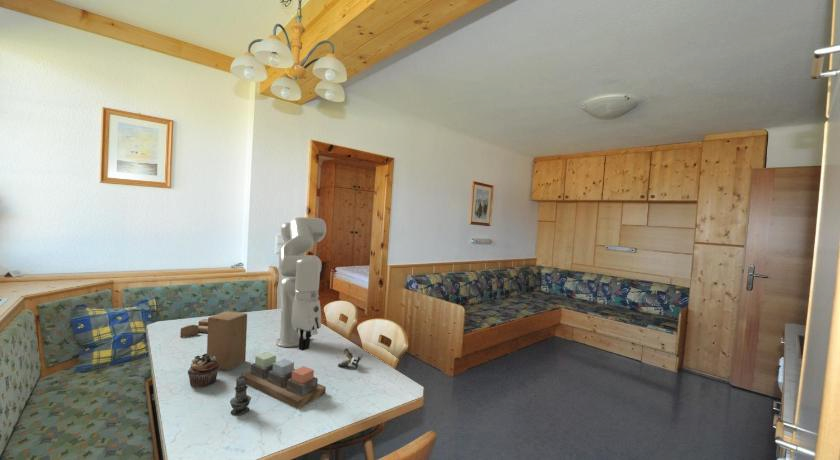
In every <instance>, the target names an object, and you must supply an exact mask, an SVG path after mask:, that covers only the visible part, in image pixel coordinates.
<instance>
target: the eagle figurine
mask: <svg viewBox="0 0 840 460" xmlns="http://www.w3.org/2000/svg"><path fill="white" fill-rule="evenodd" d="M343 352H344V354H345V356H346V358H347V360H343V361H341V362H340V363H338V364H337V366H338V367H341V366H344V367H346V366H348V365H349V364H350V365H353V366H354V367H355V368H357V369H358V365H359V363H360V361H361V360H362V358H363V356H364V354H362V355H360V356H357V359H355V357H354V355H353V353H352V352H350V351H349V348H345V349H344V351H343Z"/></svg>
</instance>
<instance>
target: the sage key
mask: <svg viewBox="0 0 840 460" xmlns="http://www.w3.org/2000/svg"><path fill="white" fill-rule="evenodd" d="M254 360H255V361H254V363H255V365H256V366H258V367H261V368H263V369H264V368H266V367H269V366H271V365H273V363H275V362H277V355H276V354H273V353H270V352H268V351H267V352H264V353H261V354H258V355H256V356H255V358H254Z"/></svg>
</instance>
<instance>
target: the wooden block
mask: <svg viewBox="0 0 840 460" xmlns="http://www.w3.org/2000/svg"><path fill="white" fill-rule="evenodd" d="M207 319H208V333H207V338H206V339H207V340H206V341H207V342H206V353H207V354H208V356H212V355H213V356H215V357H216V360H217V362H218V365H219V370H220V371H228V372H229V371H230V370H232V369H234V368H236V367H237V366H239V365H241V364H242V363H245V362H246V357H247V356H246V353H247V352H246V351H247V330H248V329H247V328H248V327H247V326H248V313H245V312H238V311H230V310H225V311H223V312H220V313H218V314H214V315H210V316H209V317H207Z"/></svg>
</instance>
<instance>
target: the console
mask: <svg viewBox="0 0 840 460" xmlns="http://www.w3.org/2000/svg"><path fill="white" fill-rule="evenodd" d="M294 370H296V369H295V368H294ZM242 374H243V373H242ZM243 375H244V376H246V377H247V383H246V385H247V386H249V387H250V388H253V389H255V390H257V391H259V392H261V393H263V394H266V395H268V396H269V397H271V398H273V399H276V400H278V401H280V402H282V403H284V404H285V405H289V406H290V407H292V408H294V409H296V410H299V409H301V408H302V407H304V406H306V405H308V404H310V403H311V402H313V401H315V400H317V399H319V398H320V397H322V396H324V395H326V390H327V387H326V386H325V385H322V384H320V383H318V381H319V379H318V378H317V377H315V376H314V377H313V380H311V381H309V382H307V383H305V384H303V385H300V384H298V383H296V382H293V381H292V372H291V373H289V374H286V375H284V376H279V375H277V374H275V373H273V365H271V366H269V367H266V368H264V369H263V368H261V367H258V366H256V365H255V362H254V363H251V364H250V371H248V372H247V373H244V374H243Z"/></svg>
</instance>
